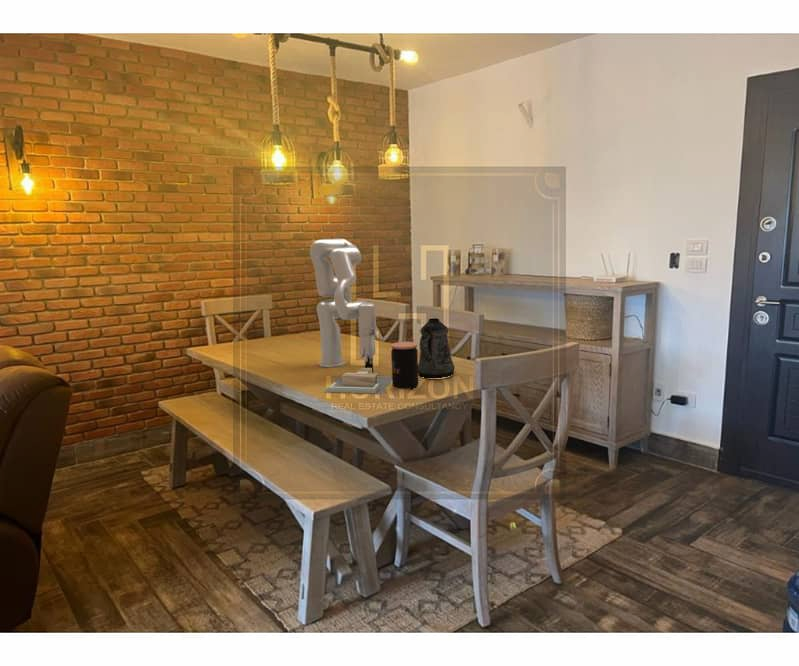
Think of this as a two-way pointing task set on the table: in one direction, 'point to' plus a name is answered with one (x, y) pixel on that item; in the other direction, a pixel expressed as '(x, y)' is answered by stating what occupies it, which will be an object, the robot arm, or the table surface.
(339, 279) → the robot arm
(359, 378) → the t block
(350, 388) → the mat
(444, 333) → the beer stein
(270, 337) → the table surface
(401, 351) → the coffee jar
